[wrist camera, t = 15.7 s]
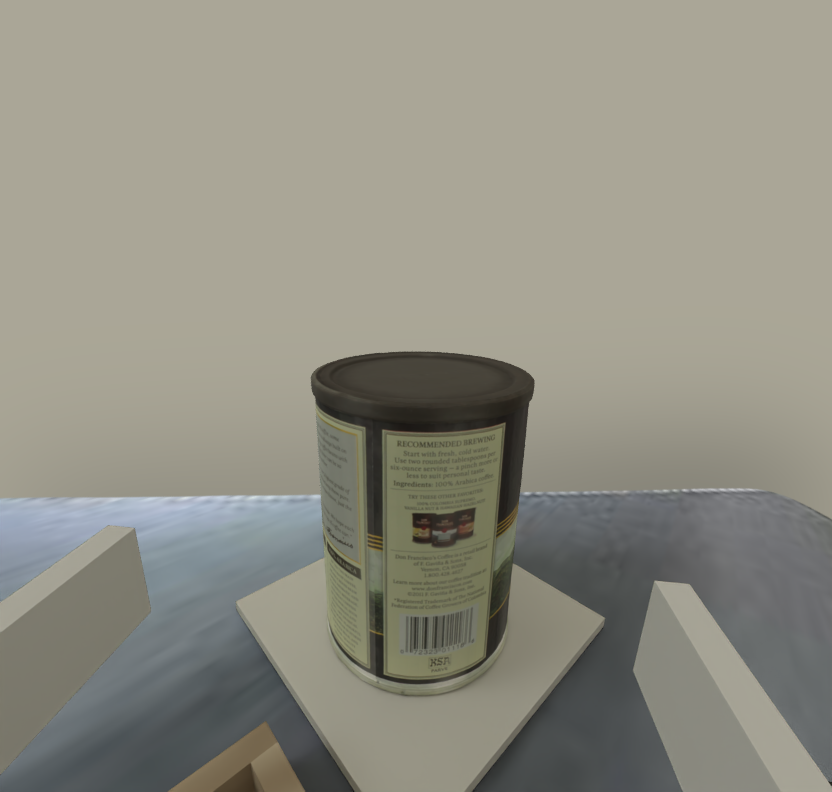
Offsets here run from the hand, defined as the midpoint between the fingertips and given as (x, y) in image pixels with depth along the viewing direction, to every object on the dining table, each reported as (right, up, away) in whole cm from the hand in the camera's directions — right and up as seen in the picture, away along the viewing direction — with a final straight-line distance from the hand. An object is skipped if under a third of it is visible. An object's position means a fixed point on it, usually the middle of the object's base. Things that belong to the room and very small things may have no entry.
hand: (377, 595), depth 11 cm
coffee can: (+1, -7, +13) cm, 15 cm away
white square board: (+1, -8, +13) cm, 15 cm away
